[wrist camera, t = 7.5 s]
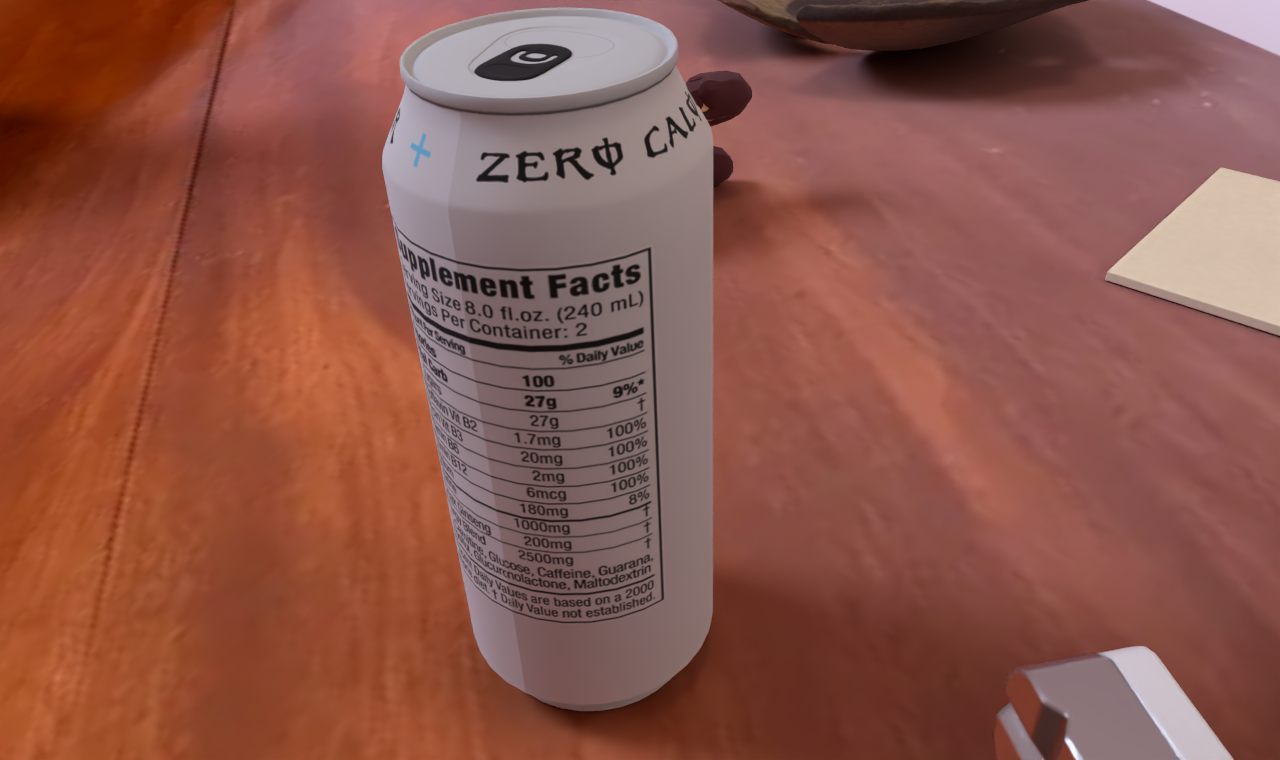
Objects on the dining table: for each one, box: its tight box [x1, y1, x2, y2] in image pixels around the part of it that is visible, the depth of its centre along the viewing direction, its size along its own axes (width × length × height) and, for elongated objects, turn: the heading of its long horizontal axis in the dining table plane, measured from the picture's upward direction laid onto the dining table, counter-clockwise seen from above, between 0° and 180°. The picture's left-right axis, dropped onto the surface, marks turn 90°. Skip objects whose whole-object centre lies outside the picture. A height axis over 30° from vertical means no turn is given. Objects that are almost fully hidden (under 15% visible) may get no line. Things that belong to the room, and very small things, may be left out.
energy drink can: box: [382, 8, 713, 711], centre depth 22 cm, size 6×6×15 cm
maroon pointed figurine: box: [685, 71, 752, 186], centre depth 44 cm, size 7×7×15 cm
